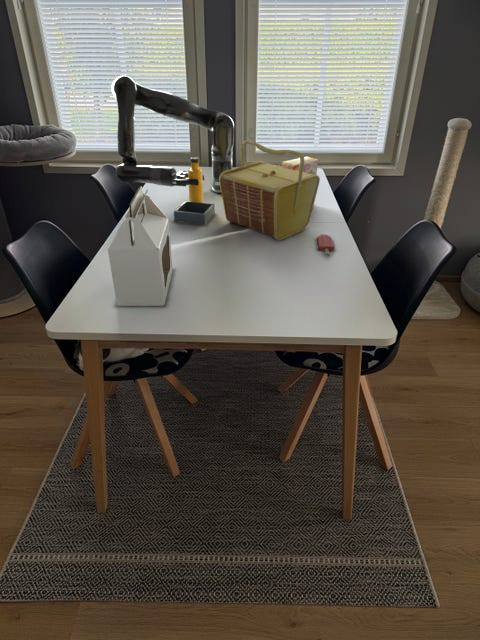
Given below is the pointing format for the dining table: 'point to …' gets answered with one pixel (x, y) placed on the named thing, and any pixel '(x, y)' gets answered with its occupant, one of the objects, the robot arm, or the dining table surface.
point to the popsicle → (325, 243)
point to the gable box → (141, 255)
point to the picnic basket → (269, 195)
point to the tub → (194, 212)
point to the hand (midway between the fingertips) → (201, 180)
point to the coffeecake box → (309, 165)
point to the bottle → (195, 173)
